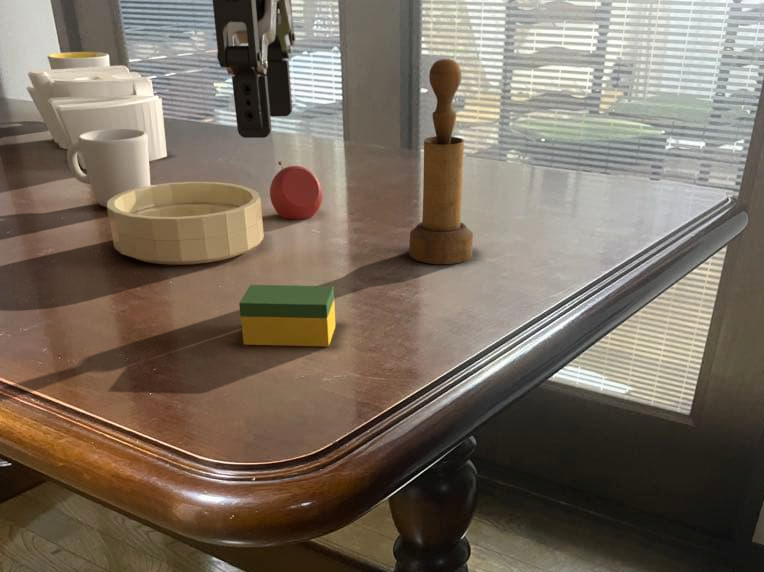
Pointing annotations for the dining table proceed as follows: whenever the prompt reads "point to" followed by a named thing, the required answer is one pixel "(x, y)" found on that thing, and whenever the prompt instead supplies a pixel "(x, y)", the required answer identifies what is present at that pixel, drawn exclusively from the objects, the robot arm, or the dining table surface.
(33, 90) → the white wavy slab sculpture
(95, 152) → the cup
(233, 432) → the dining table surface
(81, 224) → the dining table surface
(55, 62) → the mug
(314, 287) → the sponge
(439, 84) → the mortar and pestle
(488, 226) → the dining table surface
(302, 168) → the fruit
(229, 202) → the bowl
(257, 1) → the robot arm
